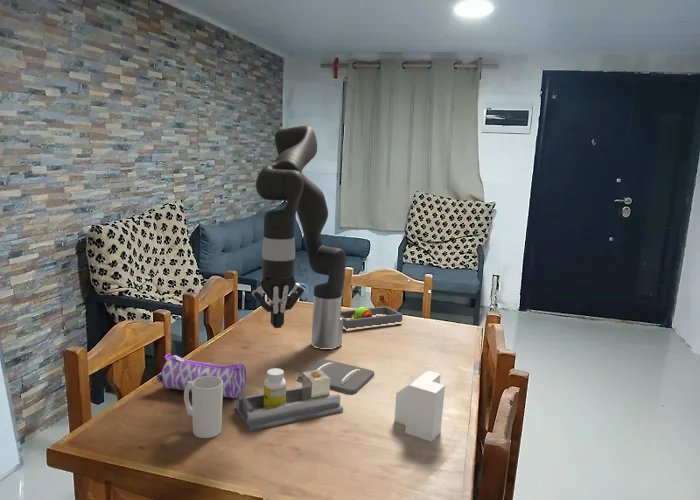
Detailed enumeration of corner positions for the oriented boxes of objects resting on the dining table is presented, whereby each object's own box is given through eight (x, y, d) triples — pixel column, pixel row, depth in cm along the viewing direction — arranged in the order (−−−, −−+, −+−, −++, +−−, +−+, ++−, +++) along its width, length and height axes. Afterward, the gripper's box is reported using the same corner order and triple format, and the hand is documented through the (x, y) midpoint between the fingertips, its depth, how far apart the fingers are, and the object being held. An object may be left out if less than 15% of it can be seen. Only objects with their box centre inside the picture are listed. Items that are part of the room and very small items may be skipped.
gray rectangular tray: (386, 315, 216) (387, 306, 216) (401, 324, 207) (402, 314, 206) (332, 322, 205) (333, 312, 204) (346, 331, 195) (346, 320, 195)
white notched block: (431, 442, 125) (435, 393, 122) (387, 426, 130) (391, 379, 128) (449, 423, 134) (453, 377, 131) (407, 409, 139) (411, 365, 137)
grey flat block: (296, 371, 153) (322, 353, 167) (296, 381, 154) (322, 363, 167) (354, 385, 146) (376, 366, 159) (353, 396, 146) (375, 376, 160)
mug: (228, 429, 125) (229, 380, 123) (209, 442, 119) (209, 391, 117) (194, 417, 130) (194, 370, 127) (174, 430, 124) (173, 380, 121)
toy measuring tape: (344, 324, 203) (345, 307, 202) (380, 315, 216) (381, 300, 215) (356, 329, 198) (357, 312, 197) (392, 320, 212) (393, 303, 210)
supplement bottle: (263, 403, 136) (264, 366, 134) (285, 403, 137) (286, 367, 135) (262, 414, 131) (263, 376, 129) (285, 414, 132) (286, 376, 130)
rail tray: (322, 391, 147) (323, 361, 145) (343, 411, 136) (344, 379, 135) (235, 408, 135) (235, 375, 134) (250, 430, 125) (251, 396, 123)
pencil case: (156, 393, 141) (155, 358, 140) (174, 378, 150) (174, 346, 148) (235, 405, 137) (236, 370, 135) (249, 390, 146) (250, 356, 144)
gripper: (298, 251, 133) (296, 319, 136) (246, 254, 126) (245, 325, 130) (311, 257, 126) (308, 328, 130) (256, 261, 120) (255, 335, 123)
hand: (277, 326), depth 130 cm, fingers closed
